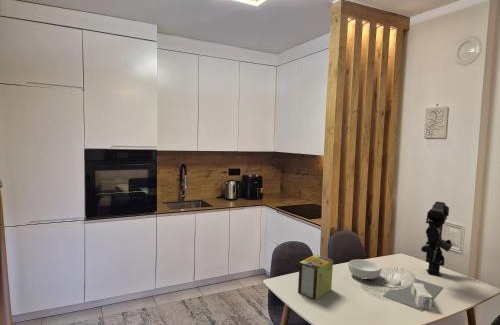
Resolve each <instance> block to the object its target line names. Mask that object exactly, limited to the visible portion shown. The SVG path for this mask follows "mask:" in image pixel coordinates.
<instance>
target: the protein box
mask: <svg viewBox="0 0 500 325" xmlns="http://www.w3.org/2000/svg"><path fill="white" fill-rule="evenodd" d="M298 266H299V267H298V268H299V270H298V286H297V287H298V288H297V293H299V294H301V295H304V296H306V297H308V298H310V299H313V300H314V301H315V300H316V301H317V299H319V298H321V297H322V296H325V294H327V293H328V292H330V291H331V290H332V284H333V283H332V282H333V270H334V259H331V258H328V257H324V256H322V255H318V254H314V255H312V256H310V257H306V258H305V259H304V260H301V261H299V265H298Z"/></svg>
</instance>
